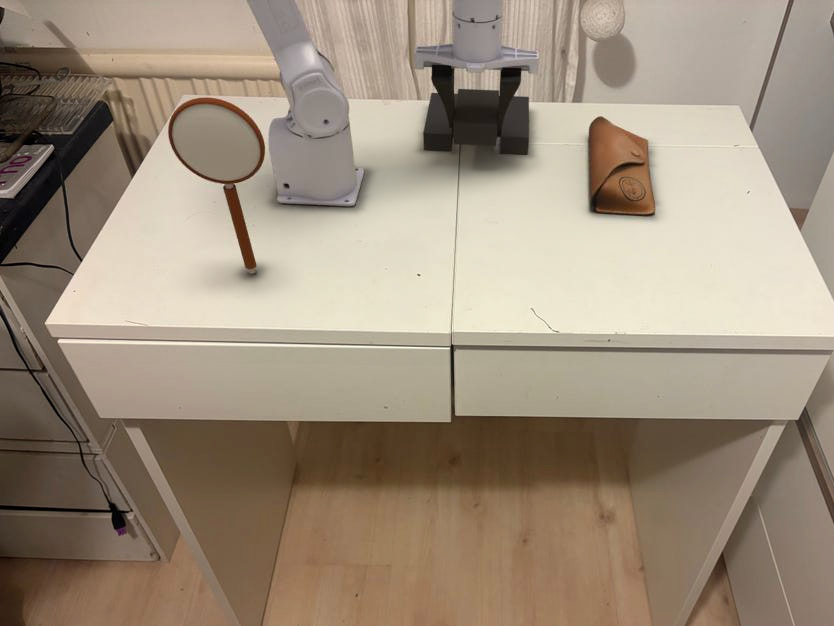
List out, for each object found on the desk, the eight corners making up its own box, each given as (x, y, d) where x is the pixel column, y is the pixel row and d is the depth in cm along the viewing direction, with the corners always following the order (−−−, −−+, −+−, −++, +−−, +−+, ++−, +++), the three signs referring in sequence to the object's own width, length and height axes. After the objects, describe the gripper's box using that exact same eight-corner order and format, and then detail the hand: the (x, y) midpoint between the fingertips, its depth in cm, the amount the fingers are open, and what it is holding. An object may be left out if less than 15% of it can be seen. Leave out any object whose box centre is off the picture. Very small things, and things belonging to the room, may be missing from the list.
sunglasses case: (660, 213, 86) (640, 169, 82) (605, 234, 89) (584, 193, 85) (648, 138, 98) (630, 96, 94) (601, 158, 101) (581, 119, 97)
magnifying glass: (293, 268, 78) (256, 94, 64) (291, 278, 77) (252, 103, 62) (214, 267, 78) (159, 92, 63) (210, 277, 77) (153, 102, 62)
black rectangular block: (453, 144, 90) (453, 122, 88) (458, 110, 96) (458, 88, 94) (496, 146, 90) (497, 124, 87) (498, 111, 96) (499, 90, 94)
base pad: (423, 150, 96) (423, 133, 94) (431, 108, 104) (431, 92, 102) (527, 154, 96) (529, 137, 94) (527, 112, 103) (528, 96, 102)
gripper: (408, 24, 77) (414, 138, 87) (542, 29, 77) (533, 143, 87) (415, 0, 82) (420, 110, 92) (541, 5, 82) (532, 115, 92)
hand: (475, 124), depth 90 cm, fingers closed on black rectangular block, 5 cm apart
